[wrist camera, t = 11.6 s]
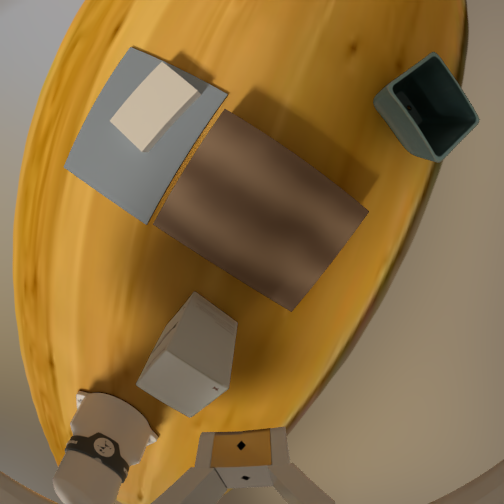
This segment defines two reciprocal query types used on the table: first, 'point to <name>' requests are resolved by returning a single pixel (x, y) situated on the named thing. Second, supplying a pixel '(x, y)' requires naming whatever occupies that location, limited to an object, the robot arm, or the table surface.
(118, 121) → the beige rectangular block
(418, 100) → the flower pot
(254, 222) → the board
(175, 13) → the table surface
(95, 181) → the mat
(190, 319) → the supplement box
